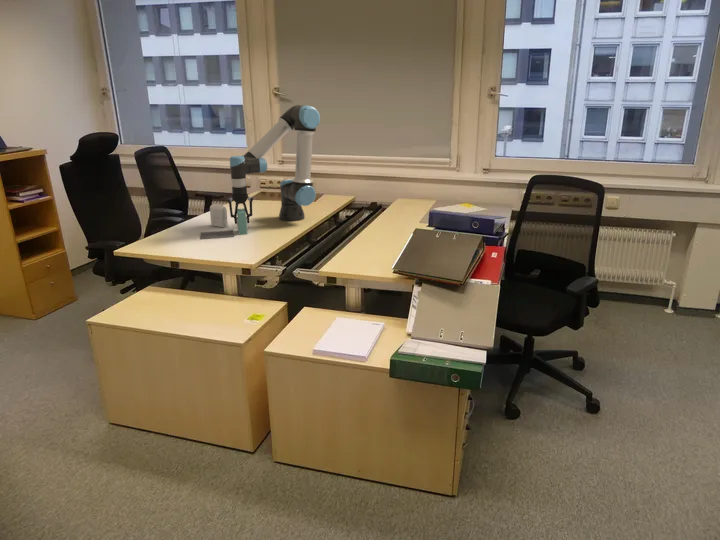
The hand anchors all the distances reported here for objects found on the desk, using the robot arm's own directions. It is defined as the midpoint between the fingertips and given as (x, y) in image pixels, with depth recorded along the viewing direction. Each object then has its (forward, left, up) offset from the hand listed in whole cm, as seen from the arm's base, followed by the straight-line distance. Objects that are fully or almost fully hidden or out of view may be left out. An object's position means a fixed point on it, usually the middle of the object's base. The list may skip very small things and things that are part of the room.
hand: (242, 229), depth 284 cm
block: (0, 0, -2) cm, 2 cm away
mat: (+13, +2, -2) cm, 14 cm away
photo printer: (+12, -17, -2) cm, 21 cm away
